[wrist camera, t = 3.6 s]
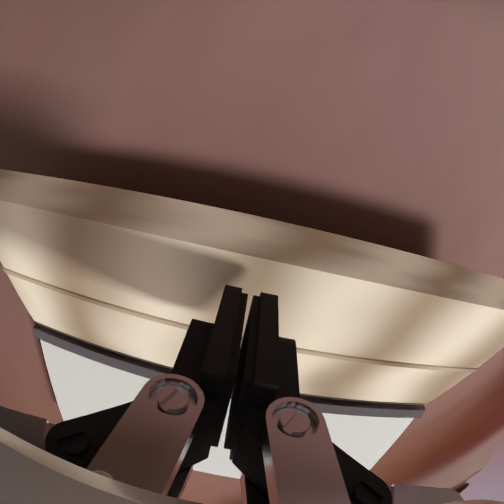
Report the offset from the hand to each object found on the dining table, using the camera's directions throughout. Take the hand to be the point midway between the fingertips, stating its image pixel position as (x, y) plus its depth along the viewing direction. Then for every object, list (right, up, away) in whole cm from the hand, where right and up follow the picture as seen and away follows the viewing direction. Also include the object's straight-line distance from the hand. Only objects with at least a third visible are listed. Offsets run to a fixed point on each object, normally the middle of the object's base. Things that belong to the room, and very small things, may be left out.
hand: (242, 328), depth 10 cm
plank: (0, 0, +5) cm, 5 cm away
